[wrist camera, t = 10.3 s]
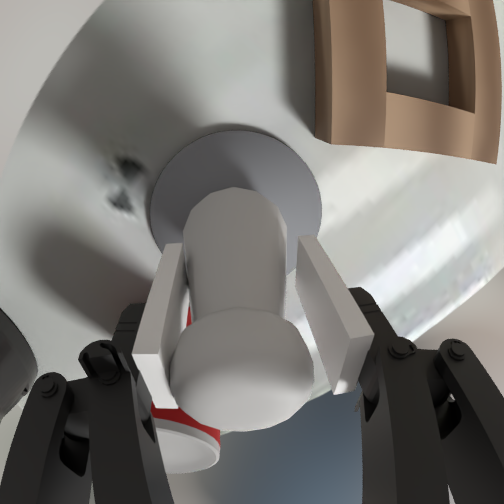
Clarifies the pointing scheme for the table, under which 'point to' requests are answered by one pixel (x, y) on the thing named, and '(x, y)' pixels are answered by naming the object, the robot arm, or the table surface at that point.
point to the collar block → (400, 106)
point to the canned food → (185, 438)
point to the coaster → (236, 184)
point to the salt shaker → (238, 318)
